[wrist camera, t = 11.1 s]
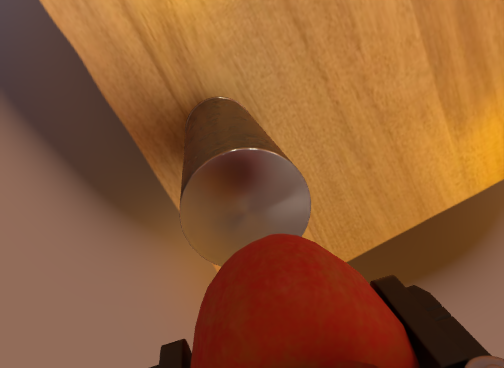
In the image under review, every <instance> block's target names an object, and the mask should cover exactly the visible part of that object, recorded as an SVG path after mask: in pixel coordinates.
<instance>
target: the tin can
mask: <svg viewBox="0 0 504 368" xmlns="http://www.w3.org/2000/svg"><path fill="white" fill-rule="evenodd" d="M310 211H311V199H310V192H309V189H308V186H307V183H306V181H305V179H304V177H303V176H302V174H301V173H300V171H299V170H298V169H297V168H296V167H295V166H294V164H293V163H292V162H291V161H290V160H289V159H288V158H287V156H286V155H285V154H284V153H283V152H282V151H281V149H280V148H279V147H278V146H277V145H276V144H275V143H274V141H273V140H272V139H271V138H270V137H269V136H268V135H267V133H266V132H265V131H264V130H263V129H262V128H261V126H260V125H259V124H258V123H257V122H256V121H255V120H254V118H253V117H252V116H251V115H250V114H249V112H248V111H247V110H246V109H245V107H244V106H242V105H241V104H240V103H239V102H237V101H235V100H233V99H230V98H227V97H213V98H209V99H206V100H204V101H202V102H201V103H199V104H198V105H197V106H196V107H195V108H194V109H193V110H192V111H191V113H190V114H189V116H188V119H187V122H186V127H185V146H184V159H183V172H182V185H181V198H180V223H181V226H182V230H183V233H184V235H185V237H186V239H187V240H188V242H189V244H190V245H191V246H192V248H193V249H194V250H195V251H196V252H197V253H198V254H199V255H200V256H202V257H203V258H205V259H206V260H208V261H210V262H212V263H214V264H216V265H219V266H221V267H222V266H223V264H224V263H225V262H226V261H227V260H228V259H229V258H230V257H231V256H232V255H233V254H234V253H235V252H236V251H238V250H240V249H241V248H243V247H245V246H246V245H248V244H249V243H251V242H253V241H256V240H258V239H261V238H263V237H266V236H268V235H271V234H282V233H283V234H290V235H298V236H300V237H302V235H303V233H304V231H305V229H306V227H307V224H308V221H309V218H310Z"/></svg>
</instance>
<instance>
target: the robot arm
mask: <svg viewBox="0 0 504 368" xmlns="http://www.w3.org/2000/svg"><path fill="white" fill-rule="evenodd" d="M370 286H371V287H372V288H373V289H374V290H375V292H376V293H377V294H378V295H379V296H380V298H381V299H382V300H383V301H384V303H385V304H386V305H387V306H388V307H389V309H390V310H391V311H392V312H393V313H394V315H395V316H396V317H397V318H398V320H399V321H400V322H401V323H402V324H403V326H404V328H405V330H406V333H407V335H408V337H409V340H410V342H411V345H412V347H413V350H414V352H415V355H416V357H417V359H418V362H419V364H420V366H419V368H504V359H502V358H499V357H495V356H492V355H490V354H489V353H488V352H487V351H486V350H485V349H484V348H483V347H482V346H481V345H480V344H479V343H478V342H477V340H475V338H473V337H472V335H470V333H469V332H468V331H466V329H465V328H464V327H463V326H462V325H461V324H460V323H459V322H458V321H457V320H456V319H455V318H454V317H452V316H451V314H450V313H449V312H448V311H447V310H446V309H445V308H444V307H442V306H441V304H440V303H439V302H438V301H437V300H436V299H435V298H434V297H433V296H432V295H431V294H430V293H429V292H427V291H425V290H423V289H421V288H419V287H417V286H415V285H413V286H410V287H407V288H406V287H405V286H404V285H403V284H402V283H401V282H400V281H399V280H398V279H397V278H396V277H395V276H394V275H389V276H386V277H383V278H379V279H376V280H373V281H371V282H370ZM191 358H192V353H191V350H190V348H189V345H188V343H187V341H186V340H185V339H182V340H178V341H175V342H172V343H169V344H166V345H162V347H161V351H160V361H159V365H157V366H153V367H151V368H190V367H191Z"/></svg>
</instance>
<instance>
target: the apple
mask: <svg viewBox="0 0 504 368" xmlns="http://www.w3.org/2000/svg"><path fill="white" fill-rule="evenodd" d="M419 366H420V364H419V362H418V359H417V357H416V355H415V352H414V350H413V347H412V345H411V342H410V340H409V337H408V335H407V333H406V330H405V328H404V326H403V324H402V323H401V322H400V321H399V320H398V318H397V317H396V316H395V315H394V313H393V312H392V311H391V310H390V309H389V307H388V306H387V305H386V304H385V303H384V301H383V300H382V299H381V298H380V296H379V295H378V294H377V293H376V292H375V290H374V289H373V288H372V287H371V286H370V285H369V284H368V282H367V281H366V280H365V279H364V278H363V276H362V275H361V274H360V273H359V272H358V271H356V270H355V269H354V268H352V267H351V266H349V265H348V264H347V263H346V262H344V261H343V260H341V259H340V258H338V257H336V256H335V255H333V254H332V253H330V252H329V251H327V250H326V249H324V248H323V247H321V246H320V245H318V244H317V243H315V242H313V241H310V240H308V239H305V238H303V237H300V236H298V235H290V234H283V233H282V234H271V235H268V236H266V237H263V238H261V239H258V240H256V241H253V242H251V243H249V244H248V245H246V246H245V247H243V248H241V249H240V250H238V251H236V252H235V253H234V254H233V255H232V256H231V257H230V258H229V259H228V260H227V261H226V262H225V263H224V264H223V266H222V267H221V269H220V270H219V272H218V273H217V275H216V276H215V278H214V279H213V280H212V282H211V283H210V285H209V286H208V288H207V291H206V293H205V296H204V298H203V301H202V304H201V307H200V311H199V315H198V319H197V322H196V326H195V333H194V342H193V350H192V358H191V367H190V368H419Z"/></svg>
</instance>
